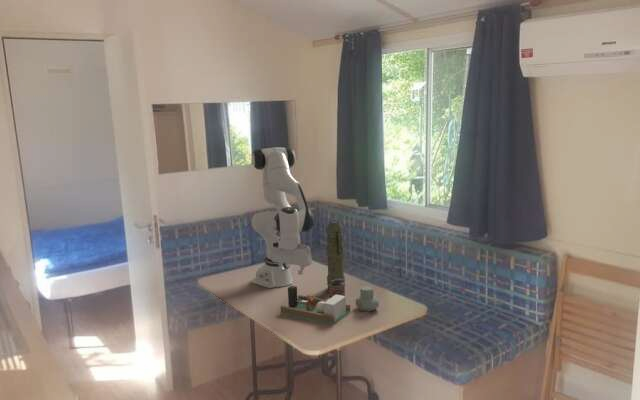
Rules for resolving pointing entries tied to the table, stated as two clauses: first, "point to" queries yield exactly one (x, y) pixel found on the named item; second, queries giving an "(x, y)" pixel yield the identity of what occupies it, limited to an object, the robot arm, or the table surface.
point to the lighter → (336, 288)
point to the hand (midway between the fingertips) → (291, 273)
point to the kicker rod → (294, 301)
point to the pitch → (331, 315)
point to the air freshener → (366, 299)
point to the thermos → (335, 252)
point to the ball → (320, 306)
